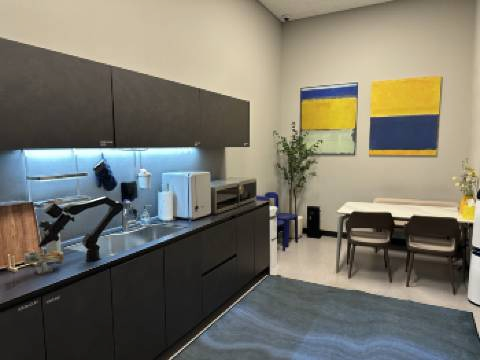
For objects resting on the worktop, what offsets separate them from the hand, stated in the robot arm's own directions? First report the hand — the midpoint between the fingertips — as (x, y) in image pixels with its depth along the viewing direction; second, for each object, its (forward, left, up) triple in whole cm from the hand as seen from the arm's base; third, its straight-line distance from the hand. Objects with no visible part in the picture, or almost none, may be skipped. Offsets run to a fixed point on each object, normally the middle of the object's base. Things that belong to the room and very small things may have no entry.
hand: (39, 246), depth 181 cm
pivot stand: (-1, +1, -14) cm, 14 cm away
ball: (-6, +3, -6) cm, 9 cm away
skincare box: (-16, -12, -14) cm, 24 cm away
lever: (-1, +1, -10) cm, 10 cm away
